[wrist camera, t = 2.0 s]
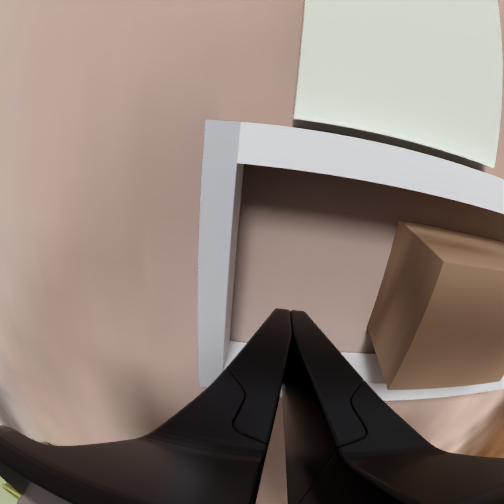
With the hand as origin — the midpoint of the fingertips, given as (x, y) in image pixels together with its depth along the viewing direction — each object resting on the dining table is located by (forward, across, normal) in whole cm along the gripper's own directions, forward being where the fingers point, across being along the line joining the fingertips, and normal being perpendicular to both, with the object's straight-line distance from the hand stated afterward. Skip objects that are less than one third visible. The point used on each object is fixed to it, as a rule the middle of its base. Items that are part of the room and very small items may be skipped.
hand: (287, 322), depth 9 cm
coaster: (+3, -4, -10) cm, 11 cm away
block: (+4, -7, 0) cm, 8 cm away
